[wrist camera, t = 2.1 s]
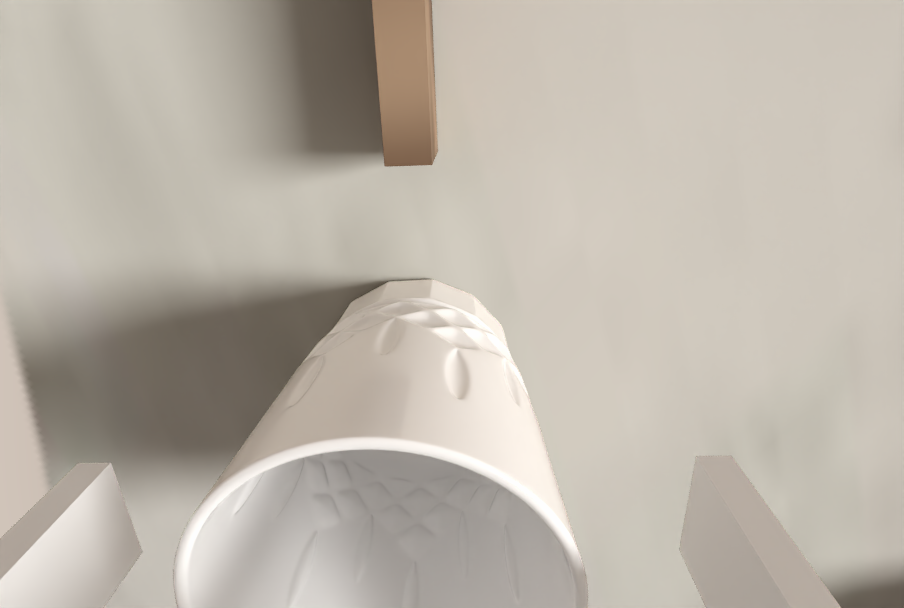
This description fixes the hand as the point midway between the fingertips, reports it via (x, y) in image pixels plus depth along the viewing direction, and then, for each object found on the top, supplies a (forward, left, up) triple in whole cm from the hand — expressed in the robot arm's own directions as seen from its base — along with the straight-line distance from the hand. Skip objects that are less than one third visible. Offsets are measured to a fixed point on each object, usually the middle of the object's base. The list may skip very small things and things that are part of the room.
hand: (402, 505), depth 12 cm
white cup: (0, 0, -8) cm, 8 cm away
